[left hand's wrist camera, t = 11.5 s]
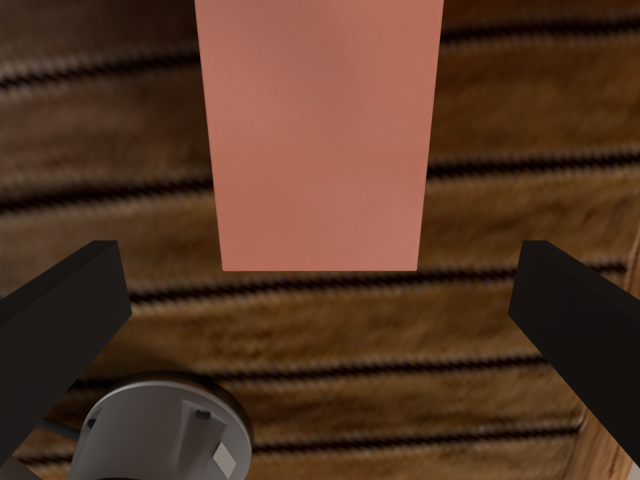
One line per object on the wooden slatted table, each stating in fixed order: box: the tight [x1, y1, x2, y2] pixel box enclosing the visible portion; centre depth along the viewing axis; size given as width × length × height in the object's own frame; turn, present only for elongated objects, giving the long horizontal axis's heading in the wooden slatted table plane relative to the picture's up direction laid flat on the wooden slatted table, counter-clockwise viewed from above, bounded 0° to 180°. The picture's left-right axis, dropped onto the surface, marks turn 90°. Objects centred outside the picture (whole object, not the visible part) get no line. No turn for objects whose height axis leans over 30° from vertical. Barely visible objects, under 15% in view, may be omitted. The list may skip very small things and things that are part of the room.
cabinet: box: [195, 0, 444, 271], centre depth 20 cm, size 21×10×9 cm, turn 0°
